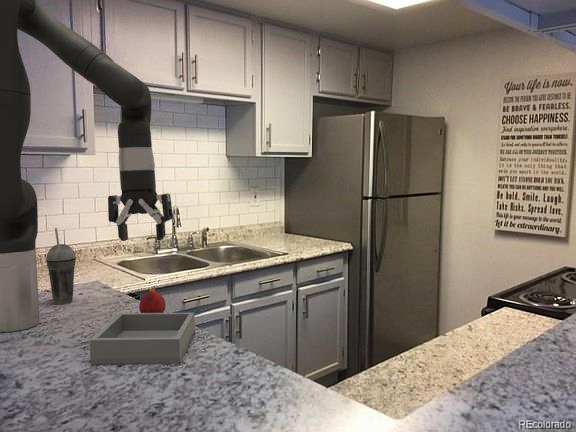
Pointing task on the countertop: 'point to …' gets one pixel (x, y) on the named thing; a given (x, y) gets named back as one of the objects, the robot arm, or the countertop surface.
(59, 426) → the countertop surface
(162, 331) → the tray
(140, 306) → the onion
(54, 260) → the beverage cup
